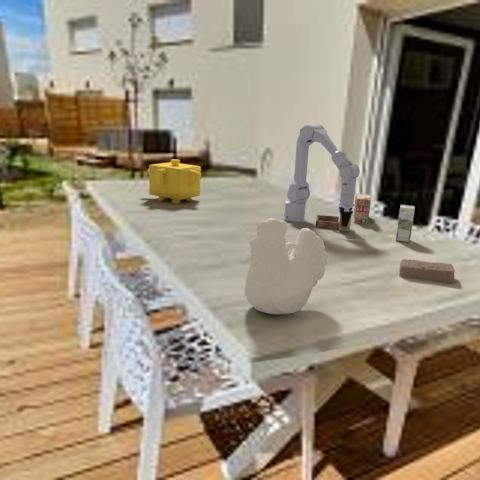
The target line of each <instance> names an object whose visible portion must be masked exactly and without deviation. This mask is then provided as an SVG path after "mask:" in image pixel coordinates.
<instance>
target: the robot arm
mask: <svg viewBox="0 0 480 480" xmlns="http://www.w3.org/2000/svg"><path fill="white" fill-rule="evenodd" d="M315 142H316V143H320V144H321V145H322V146H323V147H324V148H325V150H326V151H327V152H328V153H329V154H330V155H331V158H330V159H331V161H332V162H333V164H334V165H335V166H336V168H337V169H338V171H339V175H340V179H341V190H340V197H339V198H340V199H339V203H338V209H339V215H340V214H341V221H342V226H344V227H347V225H348V222H349V219H350V217H351V218H352V215H353V214H354V210H353V208H354V207H356V204H355V196H356V195H355V194H356V186H357V185H356V183H357V178H358V177H359V175H360V167H359V166H358V165H357V164H355V163H353V162H352V160H350V158H349V157H348V156H347V153H346V151H343V150H338V148H337V147H336V145H335V144H334V142H333V140H332V139H331V137H330V136H329V135H328V130H326V128H325V127H324V126H322V125H321V124H313V125H311V124H306V125H304V126H303V127H301V128H300V129H299V135H298V137H297V140H296V146H295V147H296V149H295V163H294V176H293V181H291V183H290V184H289V186H288V187H289V188H288V190H287V193H286V196H287V198H288V200H286V201H285V204H284V213H283V216H284V219H283V221H284V222H286V221H288V222H297V223H298V222H300V223H305V222H306V219H307V218H306V216H305V215H306V206H307V205H306V204H307V202H308V199H309V198H310V195H311V190H310V184H309V183H308V181H307V173H308V159H309V151H310V150H309V149H310V146H311V145H312V144H313V143H315Z"/></svg>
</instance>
